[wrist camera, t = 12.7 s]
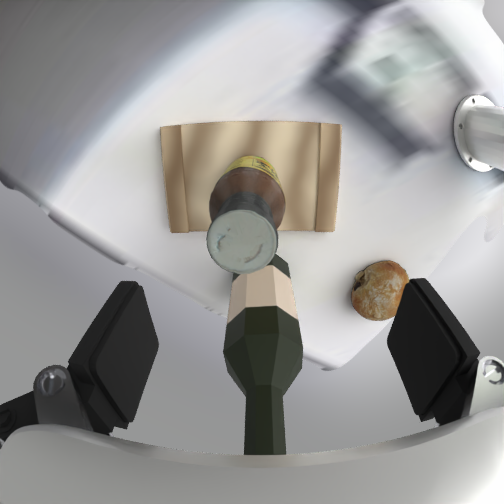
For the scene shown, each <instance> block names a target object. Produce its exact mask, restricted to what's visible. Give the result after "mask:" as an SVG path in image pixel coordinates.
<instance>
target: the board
mask: <svg viewBox="0 0 504 504" xmlns="http://www.w3.org/2000/svg"><path fill="white" fill-rule="evenodd" d="M341 134H342V125H340V124H328V123H314V122H293V121H233V122H212V123H197V124H186V125H175V126H166V127H160V135H161V149H162V162H163V174H164V184H165V194H166V203H167V211H168V219H169V227H170V232H171V233H189V231H208V229H209V227H210V224H211V222H212V221H211V218H210V213H209V201H210V196H211V193H212V191H213V189H214V187H215V185H216V183H217V182H218V180H219V179H220V177H221V176H222V175H223V174H224V172H225V171H226V170H227V168H228V167H229V166H230V164H231V163H233V162H234V161H235V160H237V159H238V158H240V157H243V156H258V157H262V158H264V159H265V160H267V161H268V162H269V163H270V164H271V165H272V166H273V167H274V169H275V171H276V173H277V176H278V179H279V181H280V184H281V187H282V189H283V193H284V196H285V200H286V208H285V213H284V216H283V219H282V222H281V225H280V226H279V228H278V229H277V231H315V232H333V231H335V222H336V212H337V201H338V188H339V174H340V157H341Z"/></svg>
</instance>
